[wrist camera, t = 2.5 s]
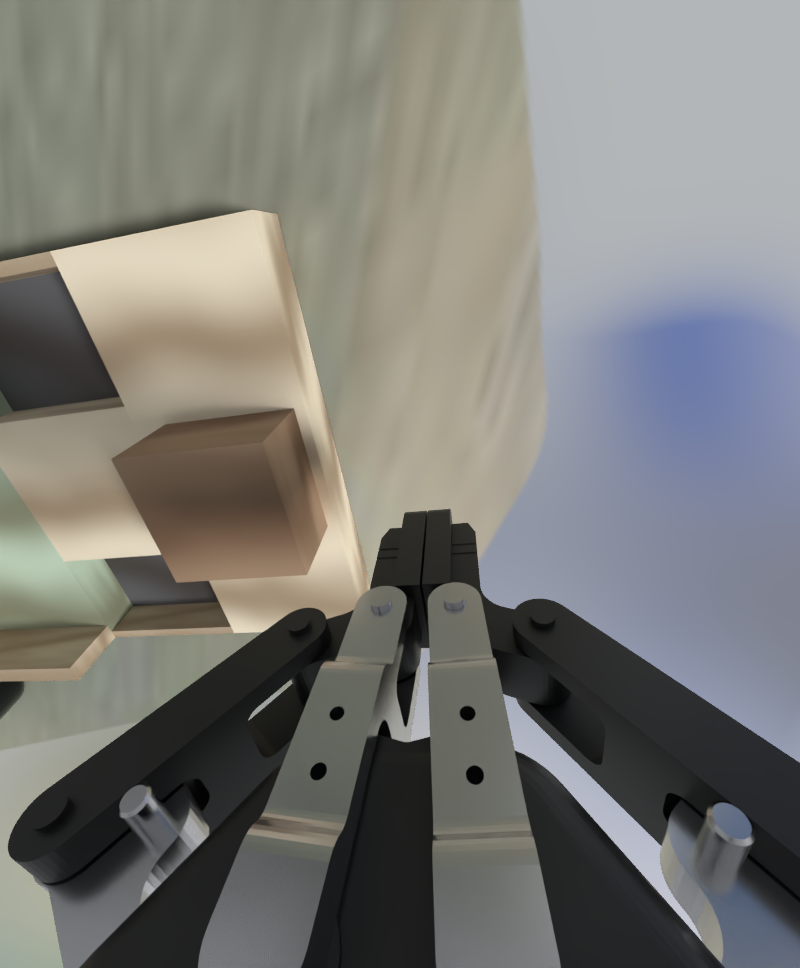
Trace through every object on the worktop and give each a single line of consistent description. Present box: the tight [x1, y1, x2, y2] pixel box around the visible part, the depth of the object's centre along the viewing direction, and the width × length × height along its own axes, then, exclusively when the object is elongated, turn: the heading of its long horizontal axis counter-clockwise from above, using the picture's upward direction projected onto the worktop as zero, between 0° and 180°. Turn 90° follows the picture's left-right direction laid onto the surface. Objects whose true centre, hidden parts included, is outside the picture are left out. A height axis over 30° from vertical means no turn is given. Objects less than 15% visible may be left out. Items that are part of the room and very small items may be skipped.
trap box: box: [0, 210, 370, 682], centre depth 20 cm, size 20×27×8 cm
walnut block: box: [111, 408, 328, 583], centre depth 18 cm, size 6×6×4 cm
